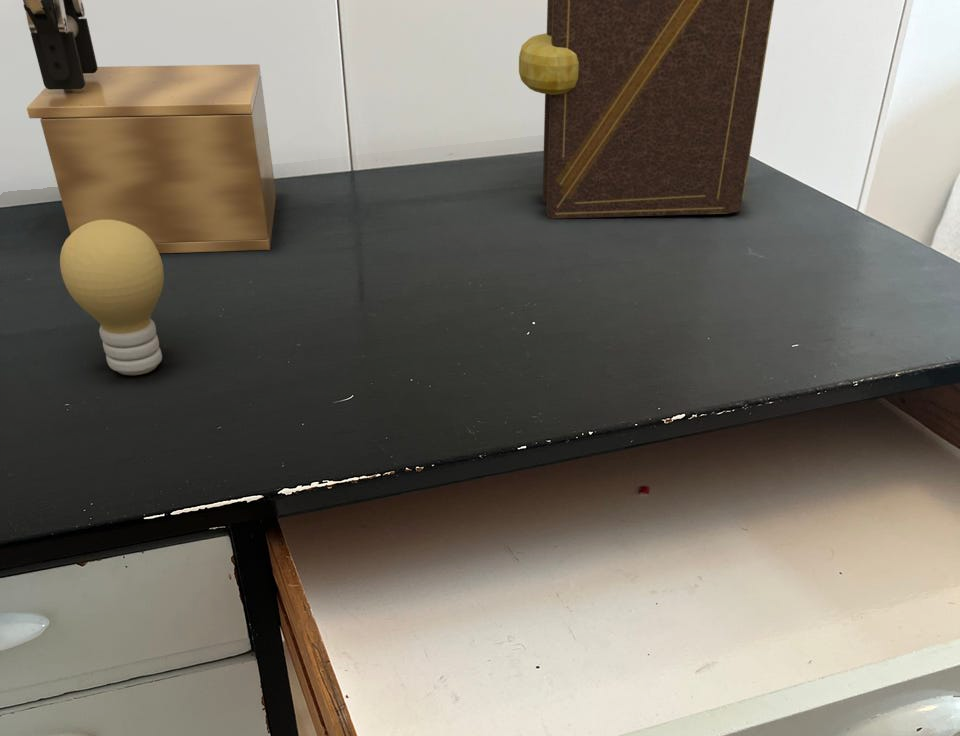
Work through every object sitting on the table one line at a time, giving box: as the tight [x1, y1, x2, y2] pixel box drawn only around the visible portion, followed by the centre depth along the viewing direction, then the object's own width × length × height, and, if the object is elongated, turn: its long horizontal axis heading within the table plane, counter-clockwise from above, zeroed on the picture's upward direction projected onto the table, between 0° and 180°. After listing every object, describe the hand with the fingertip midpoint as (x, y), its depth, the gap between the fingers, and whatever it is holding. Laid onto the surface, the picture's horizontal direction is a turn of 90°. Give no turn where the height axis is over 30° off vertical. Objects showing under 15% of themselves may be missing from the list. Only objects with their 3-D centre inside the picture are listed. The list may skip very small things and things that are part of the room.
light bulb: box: [59, 220, 165, 376], centre depth 65 cm, size 6×6×10 cm
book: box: [518, 0, 775, 220], centre depth 87 cm, size 22×8×25 cm, turn 92°
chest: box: [39, 74, 277, 254], centre depth 87 cm, size 17×15×11 cm
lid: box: [26, 15, 262, 119], centre depth 81 cm, size 18×15×6 cm
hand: (72, 77), depth 82 cm, fingers closed on lid, 5 cm apart
